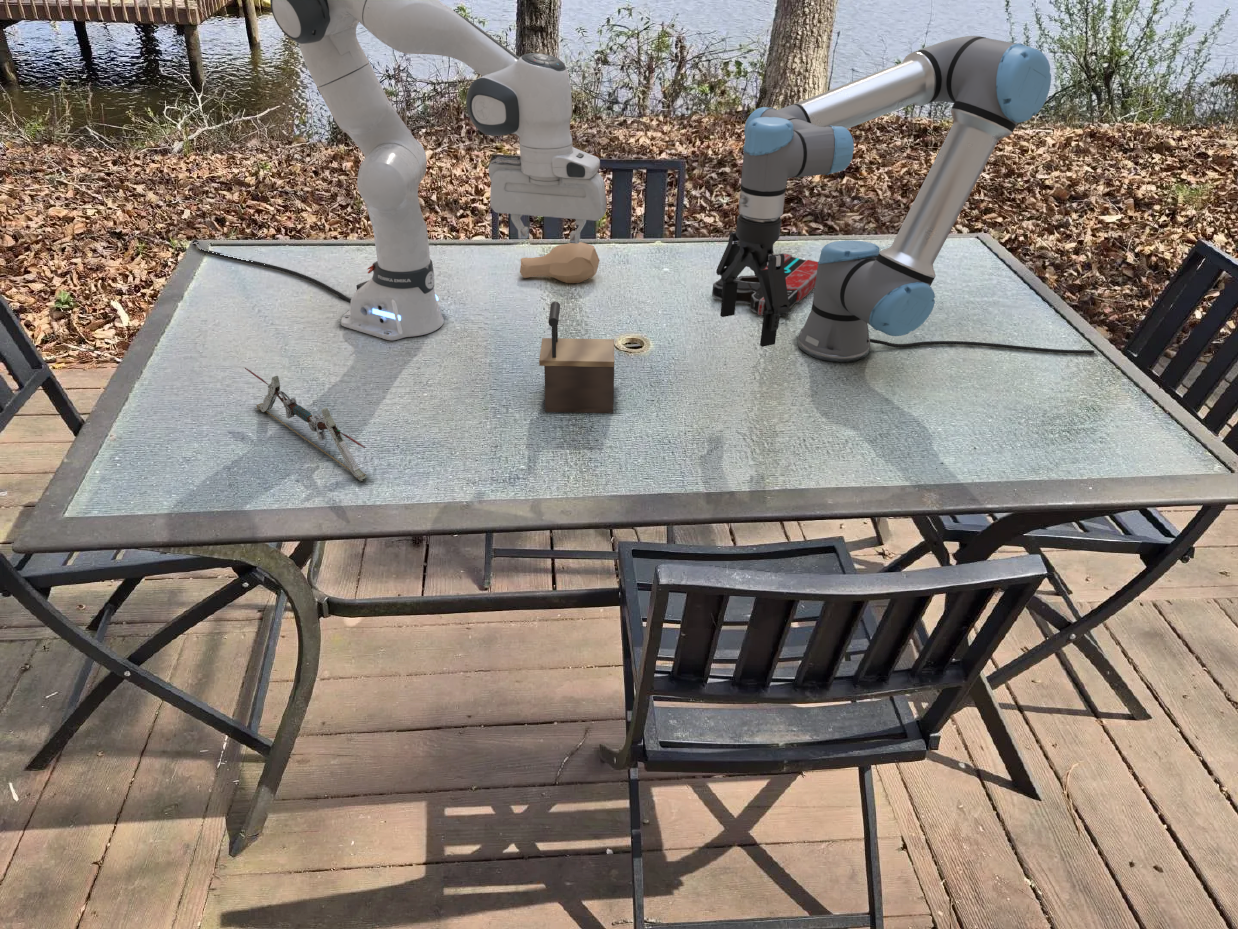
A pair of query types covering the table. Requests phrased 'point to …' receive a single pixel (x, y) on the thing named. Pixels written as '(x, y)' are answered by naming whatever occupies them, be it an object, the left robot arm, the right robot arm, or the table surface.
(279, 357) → the table surface
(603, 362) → the lid
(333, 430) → the bow
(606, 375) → the chest
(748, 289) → the gun
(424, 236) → the left robot arm
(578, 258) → the squash
